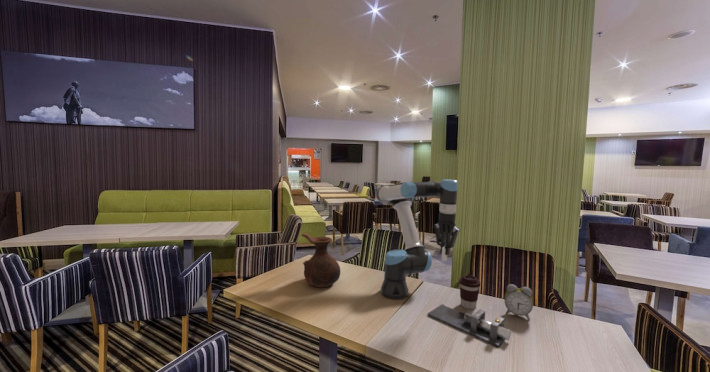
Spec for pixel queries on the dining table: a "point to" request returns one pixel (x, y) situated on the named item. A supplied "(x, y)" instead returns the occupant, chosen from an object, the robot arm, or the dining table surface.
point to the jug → (321, 264)
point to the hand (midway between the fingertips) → (444, 260)
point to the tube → (486, 326)
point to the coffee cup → (469, 291)
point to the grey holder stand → (457, 321)
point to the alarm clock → (518, 300)
